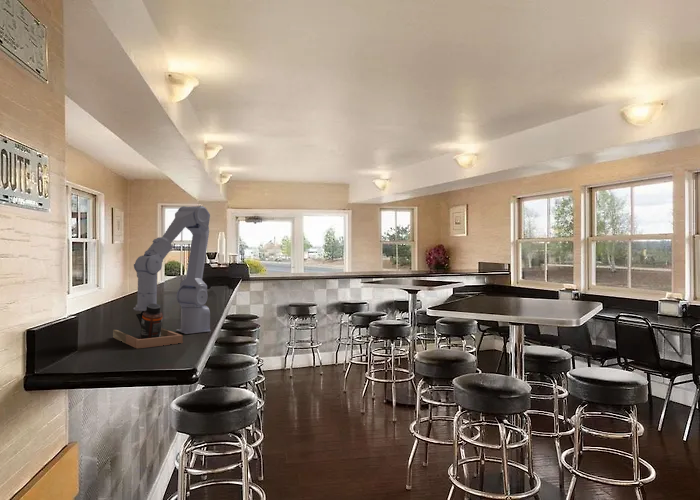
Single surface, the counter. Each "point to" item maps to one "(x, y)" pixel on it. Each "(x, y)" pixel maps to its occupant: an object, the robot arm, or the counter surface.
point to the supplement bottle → (151, 322)
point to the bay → (149, 339)
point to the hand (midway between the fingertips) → (146, 335)
